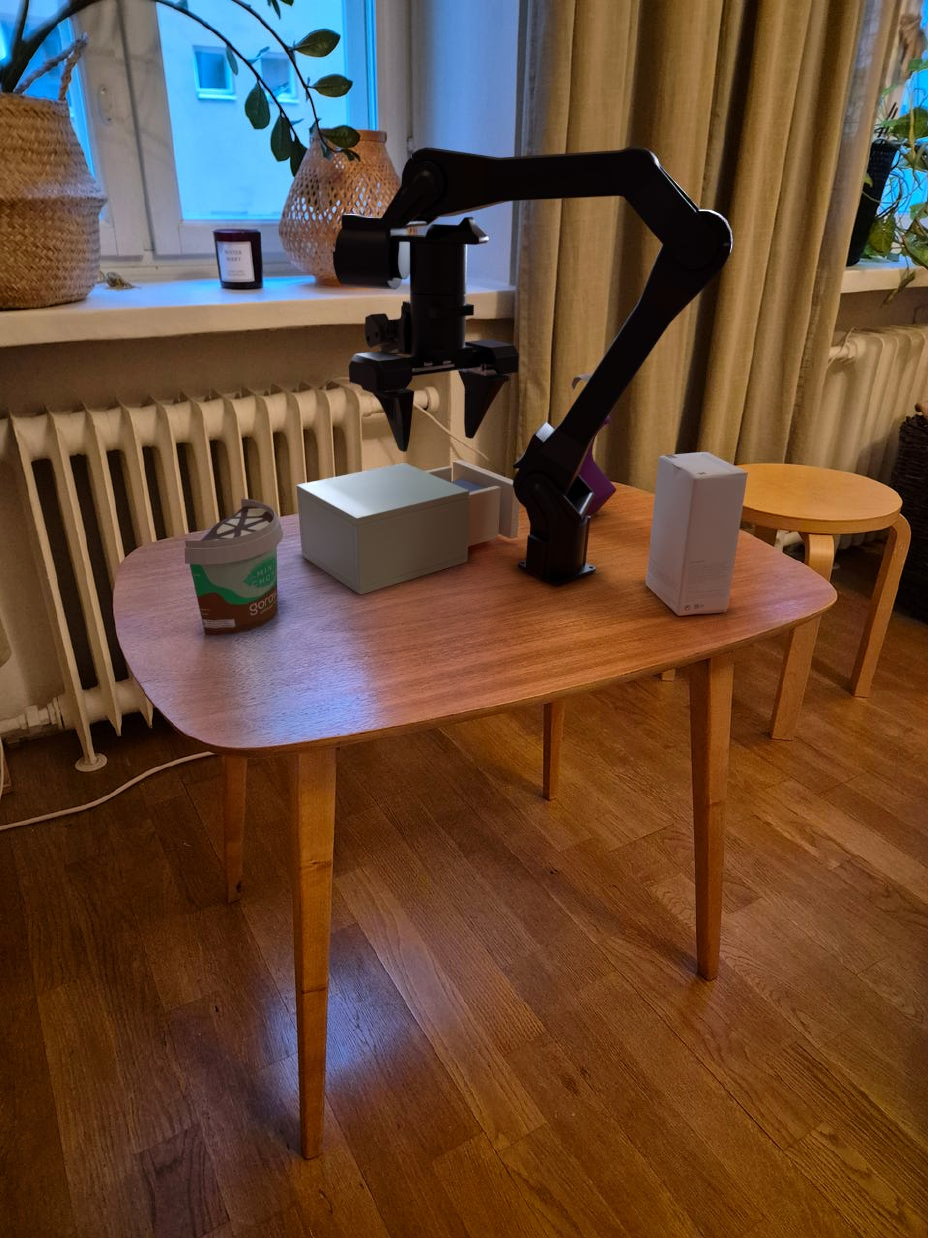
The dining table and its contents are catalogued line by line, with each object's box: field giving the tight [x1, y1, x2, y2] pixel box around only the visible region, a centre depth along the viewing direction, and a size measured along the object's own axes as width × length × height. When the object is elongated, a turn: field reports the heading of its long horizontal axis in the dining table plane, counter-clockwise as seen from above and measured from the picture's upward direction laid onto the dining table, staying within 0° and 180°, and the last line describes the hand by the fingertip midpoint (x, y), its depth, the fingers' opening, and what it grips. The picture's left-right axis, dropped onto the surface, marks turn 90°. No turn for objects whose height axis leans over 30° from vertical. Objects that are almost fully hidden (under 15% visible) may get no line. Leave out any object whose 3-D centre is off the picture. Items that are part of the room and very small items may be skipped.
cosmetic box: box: [645, 451, 749, 617], centre depth 81 cm, size 8×6×15 cm
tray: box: [424, 459, 521, 547], centre depth 96 cm, size 18×11×7 cm, turn 129°
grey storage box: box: [296, 462, 469, 596], centre depth 90 cm, size 15×13×9 cm
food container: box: [184, 497, 284, 636], centre depth 77 cm, size 12×6×10 cm, turn 168°
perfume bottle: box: [571, 373, 617, 516], centre depth 103 cm, size 8×8×18 cm
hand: (437, 444), depth 88 cm, fingers open, 9 cm apart
